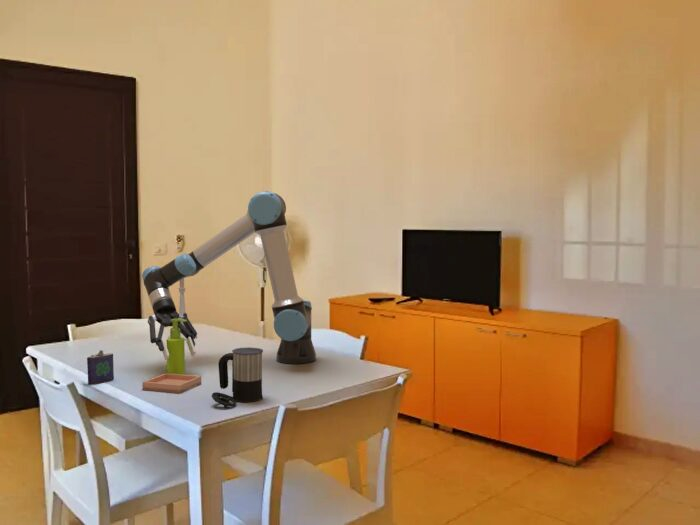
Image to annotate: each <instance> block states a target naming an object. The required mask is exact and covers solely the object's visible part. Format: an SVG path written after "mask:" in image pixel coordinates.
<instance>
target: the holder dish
mask: <svg viewBox="0 0 700 525" xmlns="http://www.w3.org/2000/svg"><path fill="white" fill-rule="evenodd" d="M199 385H200V386H201V385H202V376H201V375H190V374H185V375H181V374H170V373H167V372H165V373H163V374H160V375H157V376H155V377H153V378H150V379H147V380H144V381H142V390H143V391H150V392H160V393H168V394H169V393H170V394H182V393H184V392H186V391H189V390H191V389H193V388H195V386H196V387H198V386H199Z"/></svg>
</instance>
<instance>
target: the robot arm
mask: <svg viewBox="0 0 700 525" xmlns="http://www.w3.org/2000/svg"><path fill="white" fill-rule="evenodd" d="M247 205H248V206H247V211H246V214H245V215H243V216H242V217H240V218H239V219H237V220H236V221H234V222H233V223H232V224H230V225H229V226H227V227H226V228H225V229H223V230H222V231H220V232H219V233H217V234H216V235H214V236H213V237H211V238H210V239H209V240H207V241H205V242H204V243H202V244H201V245H200V246H198V247H197V248H195V249H194V250H192V251H191V252H190V253H182V254H181V255H179V256H176V257H175V258H174V259H172V260H171V261H169V262H168V263H166V264H165V265H163V266H161V267H160V266H157V265H152V266H148V267H147V268H145V269H144V270H143V272H142V274H141V275H142V281H143V286H144V287H145V291H146V292H147V296H148V299H149V303H150V304H151V305H150V306H151V308H152V311H153V314H154V316H152V315H149V316H148V319H147V324H148V325H149V338H150V340H149V342H150V343H151V344H154V343H155V345H156V346H157V347H158V350H159V352H161V353H162V355H163V357H164V360H165V361H167V360H168V358H169V352H168V349H167V342H166V341H165V339H163V334H164V330H165V328H167V327H173V321H170V320H171V319H179V318H180V319H185V320H187V321H186V322H183V324H184V325H183V324H182V323H181V322H180V321H178V328H180V332H181V333H182V334H183V335H184V336H185V337H186V338H187V340H185V341H186V344H187V349H188V350H189V354H190V356H191V357H192V358H193V357H195V356H196V353H197V350H196V348H195V346H196V341H195V338H196V335H197V336H198V332H197V331H196V328H195V327H194V326H193V324H192V322H191V321H190V319H189V318H188V313H186V312H185V313H184V314H183V315H181V314H179V312H178V311H177V308H176V305H175V302H174V300H173V297H172V294H171V291H170V289H169V288H170V287H171V286H173V285H175V284H176V283H177V282H180V280H181V279H183V278H184V279H186V278H189V277H193V276H195V275H198V273H200V271H201V270H203V269H204V268H205V267H207V266H209V265H210V264H211V263H213V262H214V261H215V260H216V261H217V259H218V258H220V257H221V256H223V255H225V254H226V253H227V252H229V251H230V250H232V249H233V248H235V247H236V246H237V245H239V244H240V243H242V242H243V241H244V240H246V239H248V238H249V237H250V236H252V235H254V234H257V235H259V236H260V240H261V245H262V250H263V254H264V259H265V262H266V263H265V264H266V268H267V272H268V277H269V280H270V281H269V282H270V286H271V290H272V295H273V299H274V300H273V301H274V302H273V304H272V305H271V309H272V315H273V329H274V332H275V334H276V335H277V337H279V338H280V343H279V345H278V349H277V352H276V361H277V362H279V363H281V364H289V365H290V364H292V365H293V364H294V365H297V364H309V363H313V362H315V361H316V360H317V353H316V349H315V346H314V344H313V340H312V310H313V307H312V302H311V301H310V300H304V299H303V298H302V297H301V296H299V294H298V290H297V285H296V284H297V283H296V281H295V277H294V271H293V267H292V262H291V257H290V253H289V249H288V244H287V240H286V235H285V230H286V228H287V226H288V224H287V219H286V212H287V205H286V202H285V200H284V199H283V198H282V196H280V195H279V194H278V193H275V192H272V191H268V190H263V191H259V192H257V193H255V194H254V195H253V196H252V197H251V198H250V200H249V201H248V204H247ZM156 322H157V323H158V324H159V329H158V333H157V334H156ZM196 339H197V338H196Z"/></svg>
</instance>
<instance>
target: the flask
mask: <svg viewBox="0 0 700 525" xmlns="http://www.w3.org/2000/svg"><path fill="white" fill-rule="evenodd" d="M86 361H87V362H86V364H87V385H89V386H90V385H97V384H102V383H107V382H110V381H113V379H115V374H114V353H112V352H108V353H104V350H103V349H99V352H98V353H97V354H94V355H93V354H91V355H90V356H87V357H86Z"/></svg>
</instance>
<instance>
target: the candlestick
mask: <svg viewBox="0 0 700 525" xmlns="http://www.w3.org/2000/svg"><path fill="white" fill-rule="evenodd" d="M177 289H178V292H179V304H178V305H179V307H178V308H179V310H178V314H181V315H183V314H184V313H186V303H185V300H186V299H185V292H186V287H185V278H183V279H181V280H180V281H179V287H178V288H177ZM178 319H180V318H178ZM180 322H181V321H180ZM181 323H182V324H183V322H181ZM183 325H184V324H183ZM180 334H181V338H184V341H187V338H186V337H185V336H184V335H183V334H182V333H181V332H180ZM168 338H170V335H168V337H167V339H168ZM196 339H198V334H197V335H196Z"/></svg>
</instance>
